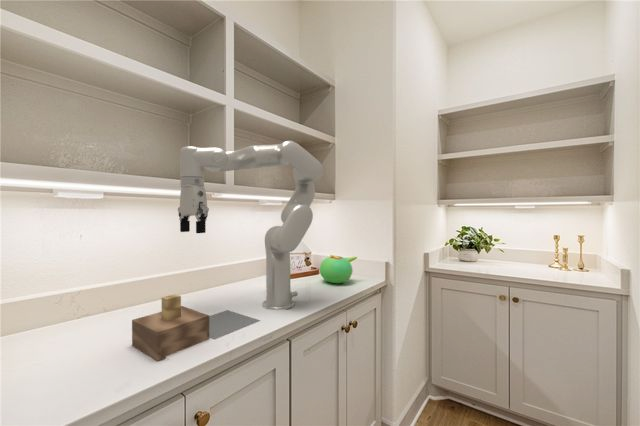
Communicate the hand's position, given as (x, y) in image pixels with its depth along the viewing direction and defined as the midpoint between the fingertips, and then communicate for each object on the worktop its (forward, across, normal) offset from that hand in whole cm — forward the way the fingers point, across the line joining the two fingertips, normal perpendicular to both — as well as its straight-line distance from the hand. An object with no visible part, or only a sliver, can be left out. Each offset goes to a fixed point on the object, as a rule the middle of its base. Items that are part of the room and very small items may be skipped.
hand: (192, 232), depth 102 cm
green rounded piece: (+31, -13, -73) cm, 80 cm away
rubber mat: (+30, -12, -3) cm, 33 cm away
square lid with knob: (+30, -12, +14) cm, 35 cm away
